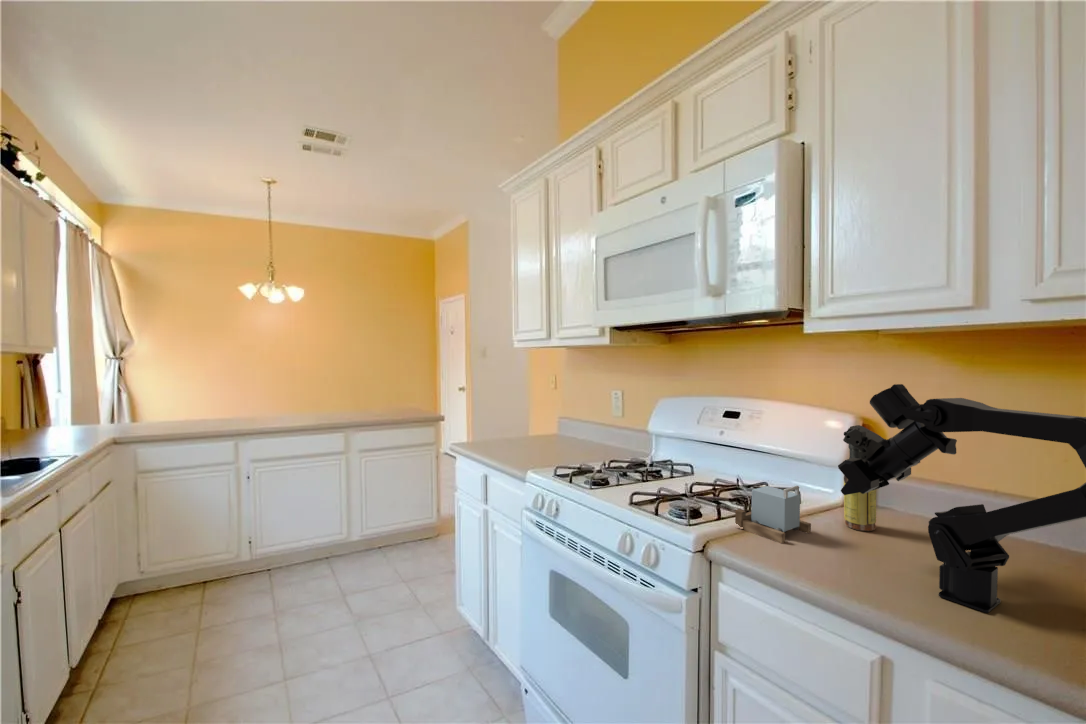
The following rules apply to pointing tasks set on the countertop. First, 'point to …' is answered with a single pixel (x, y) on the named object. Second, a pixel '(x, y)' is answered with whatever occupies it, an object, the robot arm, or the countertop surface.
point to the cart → (776, 507)
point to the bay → (764, 527)
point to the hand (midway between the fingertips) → (843, 492)
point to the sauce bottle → (859, 503)
